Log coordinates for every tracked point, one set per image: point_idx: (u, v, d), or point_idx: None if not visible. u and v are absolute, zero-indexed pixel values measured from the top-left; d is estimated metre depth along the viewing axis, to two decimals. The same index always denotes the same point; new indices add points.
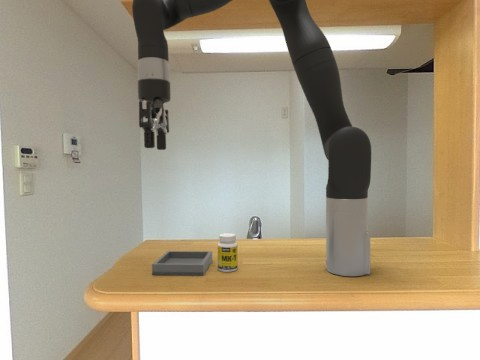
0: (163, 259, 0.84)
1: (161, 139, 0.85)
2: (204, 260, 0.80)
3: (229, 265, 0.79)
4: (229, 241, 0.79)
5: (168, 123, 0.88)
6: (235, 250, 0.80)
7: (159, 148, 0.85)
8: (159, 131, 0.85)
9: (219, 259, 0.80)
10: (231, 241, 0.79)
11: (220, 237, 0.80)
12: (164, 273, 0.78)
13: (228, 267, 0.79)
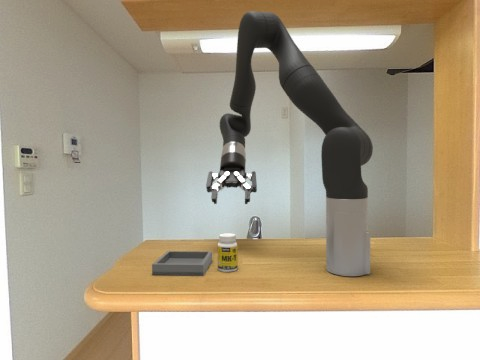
0: (163, 259, 0.84)
1: (245, 194, 0.93)
2: (204, 260, 0.80)
3: (229, 265, 0.79)
4: (229, 241, 0.79)
5: (255, 180, 0.95)
6: (235, 250, 0.80)
7: (245, 202, 0.92)
8: None
9: (219, 259, 0.80)
10: (231, 241, 0.79)
11: (220, 237, 0.80)
12: (164, 273, 0.78)
13: (228, 267, 0.79)
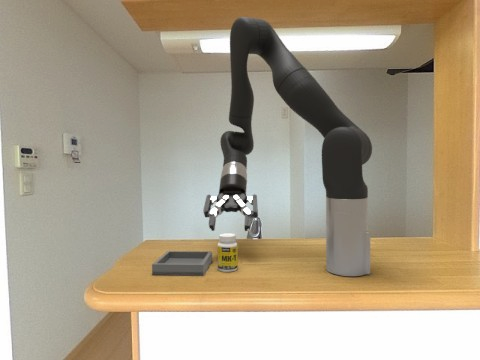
0: (163, 259, 0.84)
1: (245, 220, 0.86)
2: (204, 260, 0.80)
3: (229, 265, 0.79)
4: (229, 241, 0.79)
5: (256, 204, 0.88)
6: (235, 250, 0.80)
7: None
8: None
9: (219, 259, 0.80)
10: (231, 241, 0.79)
11: (220, 237, 0.80)
12: (164, 273, 0.78)
13: (228, 267, 0.79)
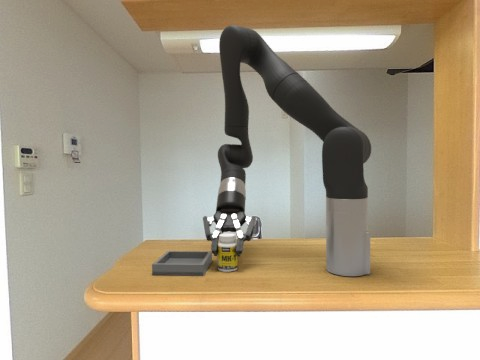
0: (163, 259, 0.84)
1: (237, 244, 0.81)
2: (204, 260, 0.80)
3: (229, 265, 0.79)
4: (229, 241, 0.79)
5: (251, 227, 0.82)
6: (235, 250, 0.80)
7: None
8: None
9: (219, 259, 0.80)
10: (231, 241, 0.79)
11: (220, 237, 0.80)
12: (164, 273, 0.78)
13: (228, 266, 0.79)
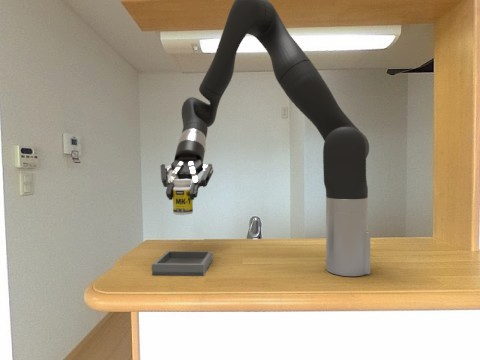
0: (163, 259, 0.84)
1: None
2: (204, 260, 0.80)
3: (183, 208, 0.80)
4: (183, 184, 0.81)
5: (207, 173, 0.84)
6: (189, 194, 0.81)
7: None
8: None
9: (174, 202, 0.81)
10: (185, 184, 0.81)
11: (175, 181, 0.81)
12: (164, 273, 0.78)
13: (182, 209, 0.80)
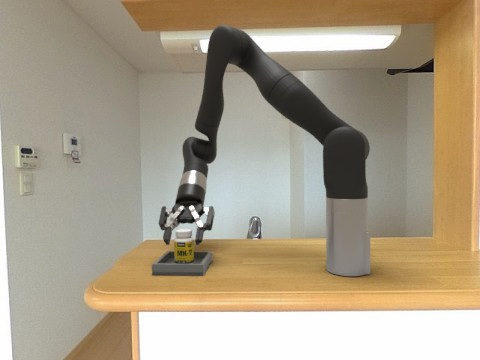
0: (163, 259, 0.84)
1: None
2: (204, 260, 0.80)
3: (184, 260, 0.81)
4: (184, 236, 0.81)
5: (210, 217, 0.84)
6: (190, 245, 0.82)
7: None
8: None
9: (175, 254, 0.82)
10: (186, 236, 0.81)
11: (176, 232, 0.82)
12: (164, 273, 0.78)
13: (184, 261, 0.81)
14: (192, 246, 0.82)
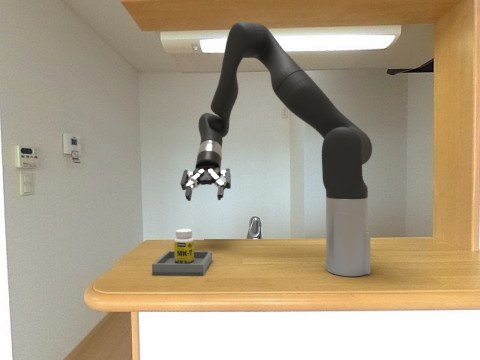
0: (163, 259, 0.84)
1: (218, 190, 0.94)
2: (204, 260, 0.80)
3: (184, 260, 0.81)
4: (184, 236, 0.81)
5: (229, 176, 0.96)
6: (191, 245, 0.82)
7: None
8: None
9: (175, 254, 0.82)
10: (187, 236, 0.81)
11: (176, 232, 0.82)
12: (164, 273, 0.78)
13: (184, 261, 0.81)
14: (192, 246, 0.82)
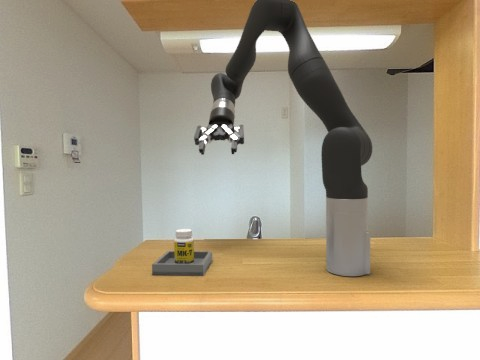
0: (163, 259, 0.84)
1: None
2: (204, 260, 0.80)
3: (184, 260, 0.81)
4: (184, 236, 0.81)
5: (242, 132, 0.96)
6: (191, 245, 0.82)
7: None
8: None
9: (175, 254, 0.82)
10: (186, 236, 0.81)
11: (176, 232, 0.82)
12: (164, 273, 0.78)
13: (184, 261, 0.81)
14: (192, 246, 0.82)
